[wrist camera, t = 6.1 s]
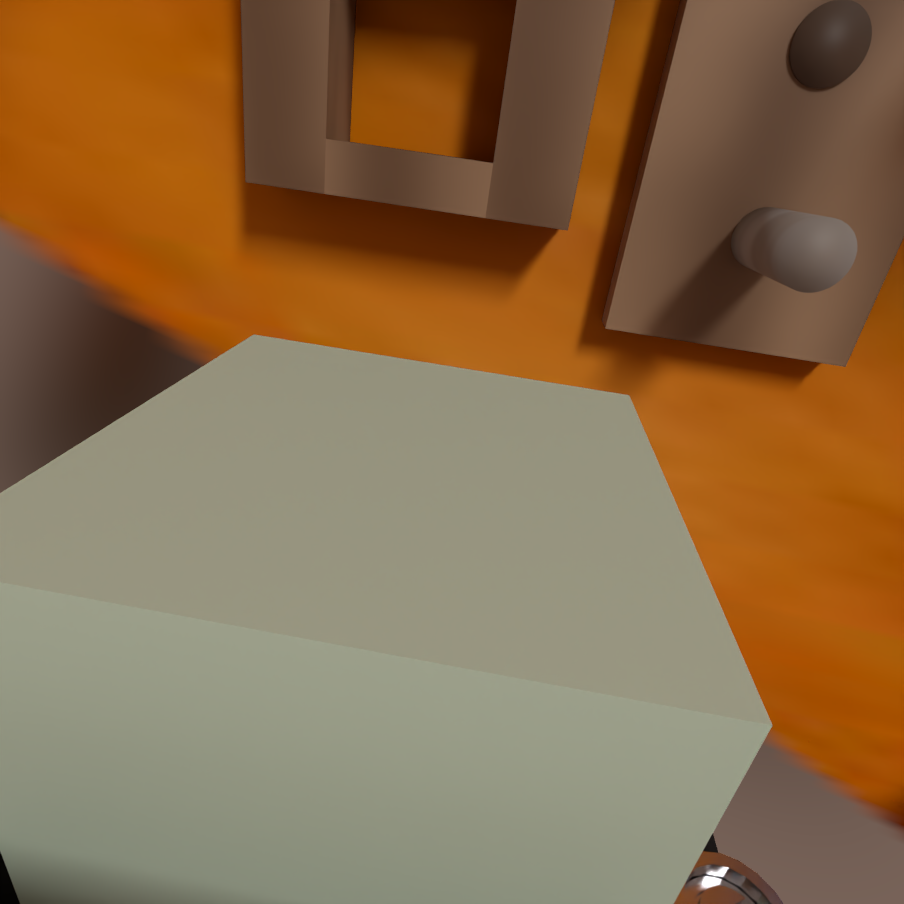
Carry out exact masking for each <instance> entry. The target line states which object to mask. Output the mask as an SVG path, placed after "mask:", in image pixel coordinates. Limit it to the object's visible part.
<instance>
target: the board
mask: <svg viewBox="0 0 904 904" xmlns="http://www.w3.org/2000/svg"><path fill="white" fill-rule="evenodd" d="M903 238H904V0H680V4H679V8H678V12H677V16H676V20H675V24H674V28H673V32H672V36H671V40H670V44H669V48H668V52H667V57H666V61H665V65H664V69H663V73H662V77H661V81H660V85H659V89H658V93H657V97H656V101H655V105H654V109H653V113H652V118H651V122H650V126H649V130H648V134H647V138H646V142H645V146H644V150H643V154H642V158H641V162H640V166H639V170H638V174H637V179H636V183H635V187H634V191H633V195H632V199H631V203H630V207H629V211H628V215H627V219H626V223H625V227H624V231H623V236H622V240H621V244H620V248H619V252H618V256H617V260H616V264H615V268H614V272H613V276H612V280H611V284H610V288H609V292H608V297H607V301H606V305H605V309H604V313H603V317H602V322H603V325H604V327H605V329H611V330H618V331H624V332H630V333H637V334H643V335H649V336H655V337H662V338H668V339H674V340H680V341H687V342H693V343H699V344H706V345H712V346H718V347H724V348H731V349H737V350H743V351H750V352H756V353H762V354H768V355H775V356H781V357H787V358H794V359H800V360H806V361H812V362H819V363H825V364H831V365H837V366H844V367H846V364H847V362H848V360H849V358H850V355H851V353H852V351H853V349H854V347H855V344H856V342H857V340H858V338H859V335H860V333H861V331H862V329H863V327H864V324H865V322H866V320H867V318H868V315H869V313H870V311H871V309H872V307H873V304H874V302H875V300H876V298H877V296H878V293H879V291H880V289H881V287H882V284H883V282H884V280H885V278H886V276H887V273H888V271H889V269H890V267H891V264H892V262H893V260H894V258H895V256H896V253H897V251H898V249H899V247H900V244H901V242H902V240H903Z"/></svg>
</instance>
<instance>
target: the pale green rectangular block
mask: <svg viewBox="0 0 904 904" xmlns="http://www.w3.org/2000/svg"><path fill="white" fill-rule="evenodd" d="M771 727H772V723H771V721H770V719H769V716H768V714H767V712H766V710H765V707H764V705H763V703H762V700H761V698H760V696H759V693H758V691H757V689H756V686H755V684H754V682H753V680H752V677H751V675H750V673H749V670H748V668H747V666H746V663H745V661H744V659H743V657H742V654H741V652H740V650H739V647H738V645H737V643H736V640H735V638H734V636H733V634H732V631H731V629H730V627H729V624H728V622H727V620H726V617H725V615H724V613H723V610H722V608H721V606H720V604H719V601H718V599H717V597H716V594H715V592H714V590H713V587H712V585H711V583H710V581H709V578H708V576H707V574H706V571H705V569H704V567H703V564H702V562H701V560H700V558H699V555H698V553H697V551H696V548H695V546H694V544H693V541H692V539H691V537H690V534H689V532H688V530H687V528H686V525H685V523H684V521H683V518H682V516H681V514H680V511H679V509H678V507H677V505H676V502H675V500H674V498H673V495H672V493H671V491H670V488H669V486H668V484H667V482H666V479H665V477H664V475H663V472H662V470H661V468H660V465H659V463H658V461H657V458H656V456H655V454H654V452H653V449H652V447H651V445H650V442H649V440H648V438H647V435H646V433H645V431H644V429H643V426H642V424H641V422H640V419H639V417H638V415H637V412H636V410H635V408H634V406H633V403H632V401H631V399H630V396H629V395H624V394H618V393H612V392H606V391H599V390H593V389H587V388H581V387H575V386H568V385H562V384H556V383H550V382H544V381H538V380H531V379H525V378H519V377H513V376H507V375H500V374H494V373H488V372H482V371H476V370H469V369H463V368H457V367H451V366H445V365H439V364H432V363H426V362H420V361H414V360H408V359H401V358H395V357H389V356H383V355H377V354H370V353H364V352H358V351H352V350H346V349H340V348H333V347H327V346H321V345H315V344H309V343H302V342H296V341H290V340H284V339H278V338H272V337H265V336H259V335H252V336H251V337H249V338H248V339H246V340H244V341H243V342H241V343H240V344H238V345H236V346H235V347H233V348H232V349H230V350H228V351H227V352H225V353H224V354H222V355H220V356H219V357H217V358H216V359H214V360H212V361H211V362H209V363H208V364H206V365H204V366H203V367H201V368H200V369H198V370H196V371H195V372H193V373H192V374H190V375H189V376H187V377H185V378H184V379H182V380H180V381H179V382H177V383H176V384H174V385H173V386H171V387H169V388H168V389H166V390H165V391H163V392H161V393H160V394H158V395H157V396H155V397H153V398H152V399H150V400H149V401H147V402H145V403H144V404H142V405H141V406H139V407H138V408H136V409H134V410H133V411H131V412H130V413H128V414H126V415H125V416H123V417H122V418H120V419H118V420H117V421H115V422H113V423H112V424H110V425H109V426H107V427H106V428H104V429H102V430H101V431H99V432H98V433H96V434H94V435H93V436H91V437H89V438H88V439H86V440H85V441H83V442H82V443H80V444H78V445H77V446H75V447H74V448H72V449H70V450H69V451H67V452H66V453H64V454H62V455H61V456H59V457H58V458H56V459H54V460H53V461H51V462H50V463H48V464H46V465H45V466H43V467H42V468H40V469H38V470H37V471H35V472H34V473H32V474H30V475H29V476H27V477H26V478H24V479H23V480H21V481H19V482H18V483H16V484H14V485H13V486H12V487H10V488H8V489H7V490H5V491H3V492H2V493H0V852H1V854H2V857H3V860H4V862H5V865H6V868H7V870H8V873H9V876H10V878H11V881H12V884H13V886H14V889H15V891H16V894H17V897H18V899H19V902H20V904H674V902H675V900H676V898H677V897H678V895H679V893H680V891H681V889H682V888H683V886H684V884H685V882H686V880H687V879H688V877H689V875H690V873H691V871H692V870H693V868H694V866H695V864H696V862H697V861H698V859H699V857H700V855H701V853H702V852H703V850H704V848H705V846H706V844H707V842H708V841H709V839H710V837H711V835H712V833H713V832H714V830H715V828H716V826H717V824H718V823H719V820H720V819H721V817H722V815H723V814H724V812H725V810H726V808H727V806H728V805H729V803H730V801H731V799H732V797H733V795H734V794H735V792H736V790H737V788H738V787H739V785H740V783H741V781H742V779H743V777H744V776H745V774H746V772H747V770H748V769H749V767H750V765H751V763H752V761H753V760H754V758H755V756H756V754H757V752H758V750H759V749H760V747H761V745H762V743H763V741H764V740H765V738H766V736H767V734H768V732H769V731H770V729H771Z"/></svg>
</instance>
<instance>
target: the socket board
mask: <svg viewBox="0 0 904 904" xmlns="http://www.w3.org/2000/svg"><path fill="white" fill-rule="evenodd" d="M614 3H615V0H517V2H516V9H515V16H514V23H513V30H512V37H511V44H510V51H509V58H508V65H507V72H506V78H505V85H504V92H503V99H502V106H501V113H500V120H499V127H498V134H497V141H496V148H495V155H494V162H493V163H491V162H484V161H477V160H470V159H463V158H457V157H450V156H443V155H436V154H429V153H422V152H415V151H408V150H401V149H395V148H388V147H381V146H374V145H367V144H360V143H353V142H350V123H351V101H352V78H353V56H354V34H355V11H356V0H241V28H242V65H243V103H244V140H245V177H246V182H249V183H255V184H262V185H269V186H275V187H282V188H288V189H295V190H302V191H308V192H315V193H322V194H328V195H335V196H342V197H348V198H355V199H362V200H368V201H375V202H381V203H388V204H395V205H401V206H408V207H415V208H421V209H428V210H435V211H441V212H448V213H455V214H461V215H468V216H475V217H481V218H488V219H494V220H501V221H508V222H514V223H521V224H528V225H534V226H541V227H548V228H554V229H561V230H568V227H569V222H570V217H571V212H572V207H573V203H574V198H575V193H576V188H577V183H578V178H579V173H580V168H581V164H582V159H583V154H584V149H585V144H586V139H587V134H588V129H589V125H590V120H591V115H592V110H593V105H594V100H595V95H596V91H597V86H598V81H599V76H600V71H601V66H602V61H603V56H604V52H605V47H606V42H607V37H608V32H609V27H610V22H611V17H612V13H613V8H614Z"/></svg>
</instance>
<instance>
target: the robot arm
mask: <svg viewBox="0 0 904 904" xmlns="http://www.w3.org/2000/svg"><path fill="white" fill-rule="evenodd" d="M0 904H20V902H19V899H18V897H17V894H16V891H15V889H14V886H13V884H12V881H11V878H10V876H9V873H8V870H7V868H6V865H5V862H4V860H3V857H2V854H1V852H0ZM674 904H783V903H782V901H781V900H780V898H779V897H778V895H777V894H776V893H775V891H774V890H773V889H772V888H771V887H770V886H769V885H768V884H767V883H766V882H765V881H764V880H763V879H762V878H761V877H760V876H759V875H758V874H757V873H756V872H754V871H753V870H751V869H750V868H748V867H747V866H746V865H744V864H743V863H741V862H740V861H738V860H735V859H733V858H731V857H728V856H726V855H723V854H721V853H718V850H717V847H716V843H715V840H714V836H713V833H712V835H711V837H710V839H709V841H708V842H707V844H706V846H705V848H704V850H703V852H702V853H701V855H700V857H699V859H698V861H697V862H696V864H695V866H694V868H693V870H692V871H691V873H690V875H689V877H688V879H687V880H686V882H685V884H684V886H683V888H682V889H681V891H680V893H679V895H678V897H677V898H676V900H675V902H674Z"/></svg>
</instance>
